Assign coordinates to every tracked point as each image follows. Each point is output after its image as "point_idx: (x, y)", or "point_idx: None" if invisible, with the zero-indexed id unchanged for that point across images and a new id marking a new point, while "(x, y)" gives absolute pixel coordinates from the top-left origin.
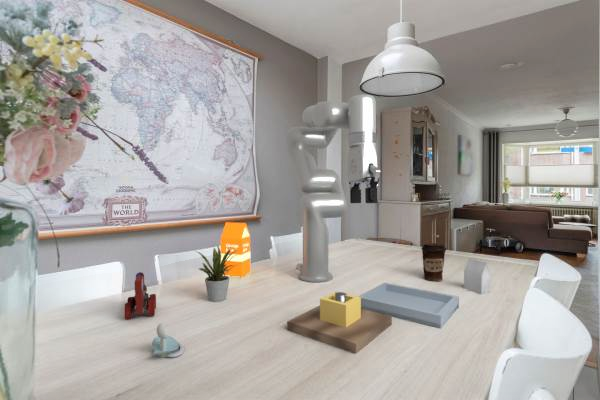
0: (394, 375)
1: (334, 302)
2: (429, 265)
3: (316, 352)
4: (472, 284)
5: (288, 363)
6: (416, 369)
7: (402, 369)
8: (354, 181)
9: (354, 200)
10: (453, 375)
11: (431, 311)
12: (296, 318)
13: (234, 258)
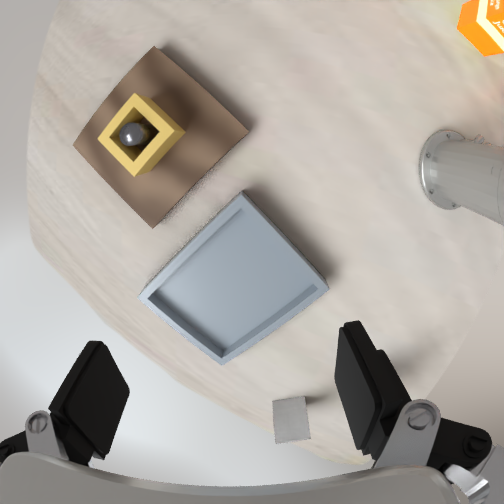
0: (45, 178)
1: (112, 119)
2: None
3: (88, 94)
4: (289, 406)
5: (74, 65)
6: (54, 205)
7: (53, 190)
8: (178, 487)
9: (343, 354)
10: (49, 236)
11: (190, 306)
12: (163, 59)
13: (481, 10)
